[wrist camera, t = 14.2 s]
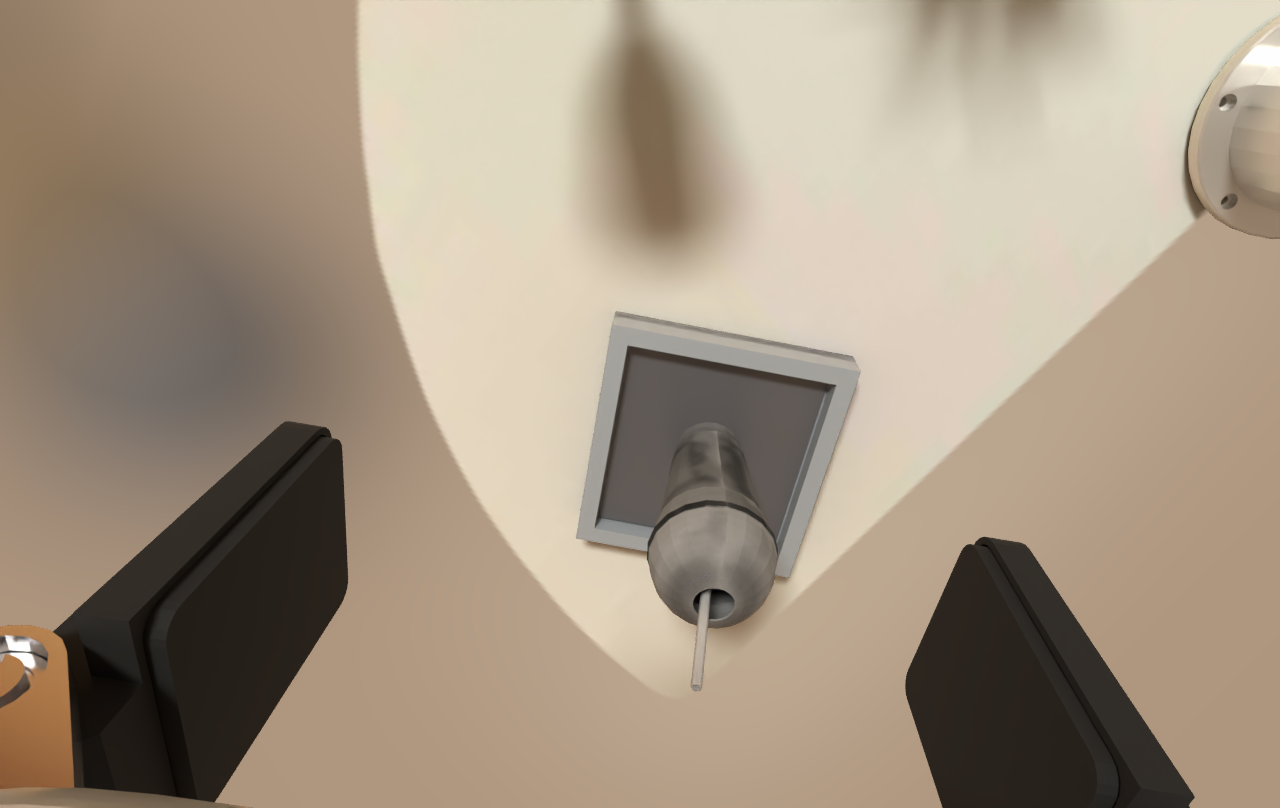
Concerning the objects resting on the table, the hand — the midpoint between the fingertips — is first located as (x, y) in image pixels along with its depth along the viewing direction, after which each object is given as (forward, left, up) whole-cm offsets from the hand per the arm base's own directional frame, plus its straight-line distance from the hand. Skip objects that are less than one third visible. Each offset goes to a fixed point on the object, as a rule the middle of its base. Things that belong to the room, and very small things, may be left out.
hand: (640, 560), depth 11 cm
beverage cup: (-6, +18, -35) cm, 39 cm away
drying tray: (-5, +18, -36) cm, 41 cm away
